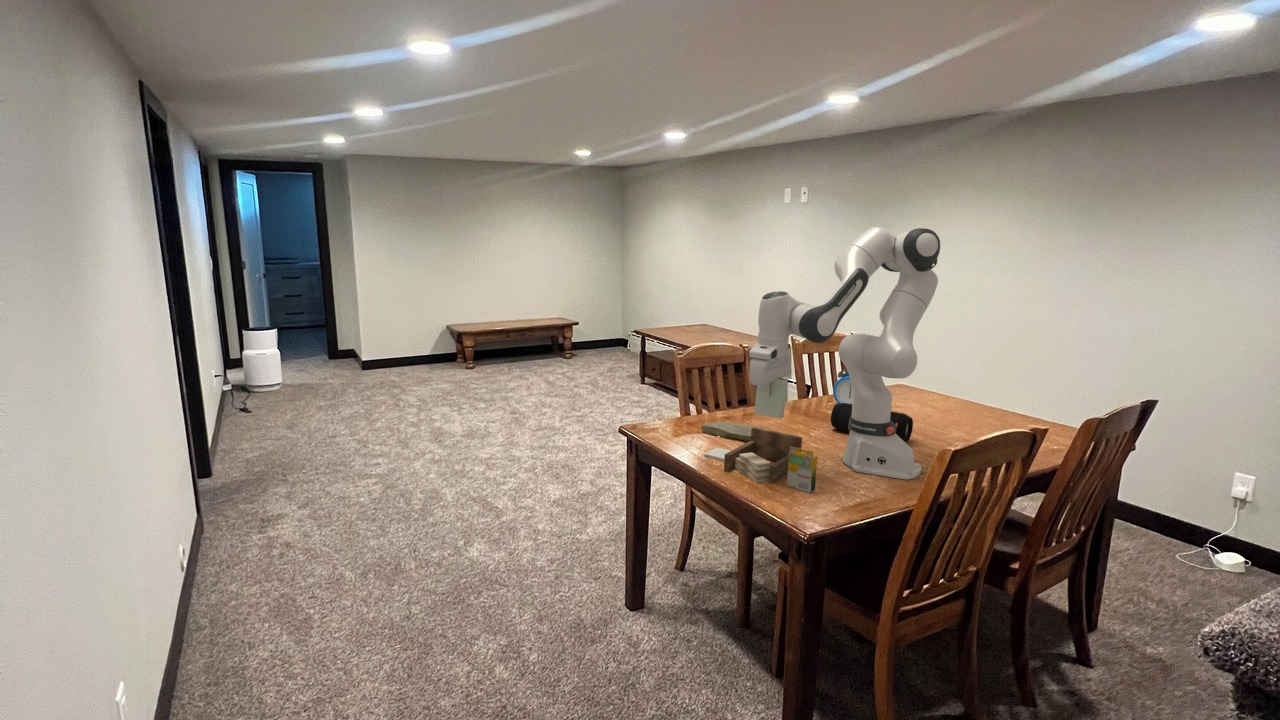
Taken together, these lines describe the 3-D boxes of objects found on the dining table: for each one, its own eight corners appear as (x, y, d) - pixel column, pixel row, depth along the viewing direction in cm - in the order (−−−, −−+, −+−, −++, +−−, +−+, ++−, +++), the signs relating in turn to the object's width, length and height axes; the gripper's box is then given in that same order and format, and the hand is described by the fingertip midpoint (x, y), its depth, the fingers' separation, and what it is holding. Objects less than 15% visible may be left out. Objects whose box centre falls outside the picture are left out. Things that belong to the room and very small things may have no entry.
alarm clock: (831, 406, 267) (834, 370, 264) (835, 403, 272) (837, 367, 269) (865, 411, 261) (868, 374, 258) (868, 408, 266) (871, 371, 263)
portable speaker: (828, 432, 235) (830, 404, 233) (839, 425, 243) (841, 399, 241) (903, 447, 220) (906, 418, 218) (912, 440, 227) (915, 412, 225)
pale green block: (783, 417, 195) (787, 379, 194) (779, 418, 192) (783, 380, 191) (758, 412, 199) (762, 376, 198) (754, 413, 197) (758, 376, 196)
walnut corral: (800, 465, 201) (802, 437, 199) (774, 483, 187) (776, 453, 185) (752, 454, 210) (753, 426, 208) (723, 470, 196) (725, 441, 194)
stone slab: (713, 417, 240) (795, 428, 225) (713, 428, 241) (795, 440, 226) (698, 425, 229) (783, 437, 214) (698, 437, 230) (783, 450, 215)
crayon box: (815, 490, 183) (818, 449, 181) (810, 493, 181) (813, 452, 178) (791, 482, 188) (794, 443, 185) (786, 485, 185) (789, 445, 183)
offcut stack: (772, 480, 189) (773, 463, 188) (757, 483, 187) (758, 465, 186) (748, 467, 200) (749, 450, 199) (734, 469, 198) (735, 452, 197)
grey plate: (747, 456, 208) (747, 454, 208) (735, 464, 201) (735, 461, 201) (716, 449, 214) (716, 447, 214) (703, 456, 208) (704, 453, 208)
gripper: (777, 342, 203) (775, 386, 206) (746, 352, 187) (744, 400, 189) (797, 344, 199) (794, 389, 202) (767, 355, 183) (764, 403, 186)
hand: (769, 394), depth 196 cm, fingers closed on pale green block, 3 cm apart
